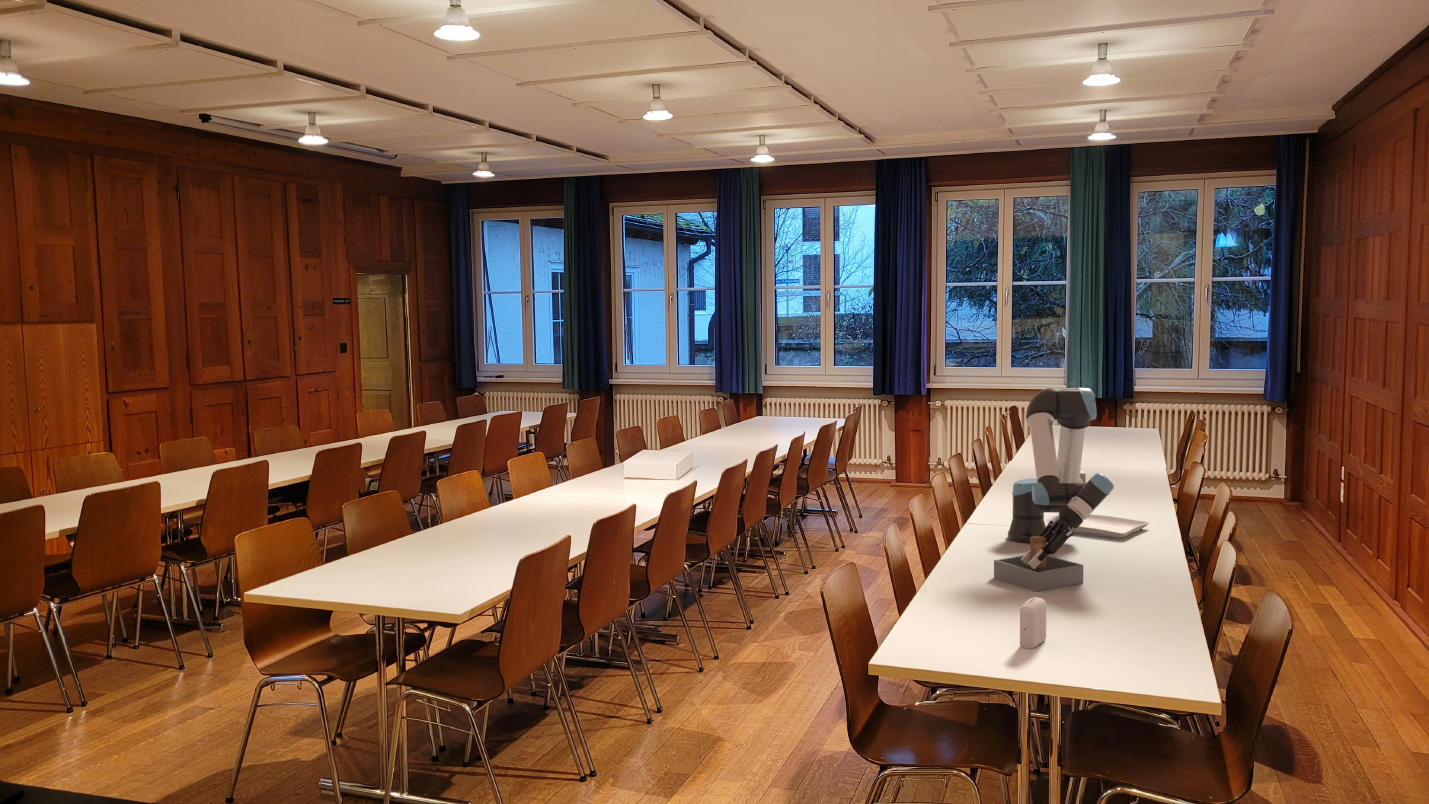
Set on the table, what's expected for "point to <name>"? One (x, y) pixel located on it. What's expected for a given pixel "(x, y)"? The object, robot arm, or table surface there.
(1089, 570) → the table surface
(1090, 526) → the square plate
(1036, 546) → the walnut cylinder
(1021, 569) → the tote
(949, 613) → the table surface
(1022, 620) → the photo printer
